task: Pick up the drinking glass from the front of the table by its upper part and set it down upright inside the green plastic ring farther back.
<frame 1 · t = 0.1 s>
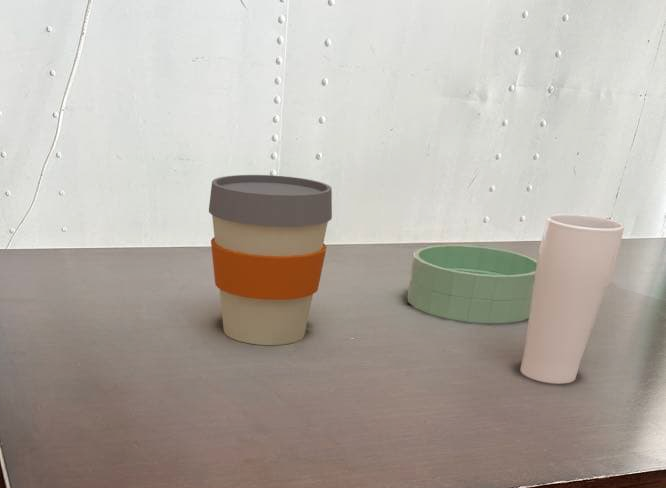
reusable coffee cup: (264, 333, 90), on the table
green plastic ring: (468, 309, 101), on the table
drinking glass: (545, 381, 81), on the table
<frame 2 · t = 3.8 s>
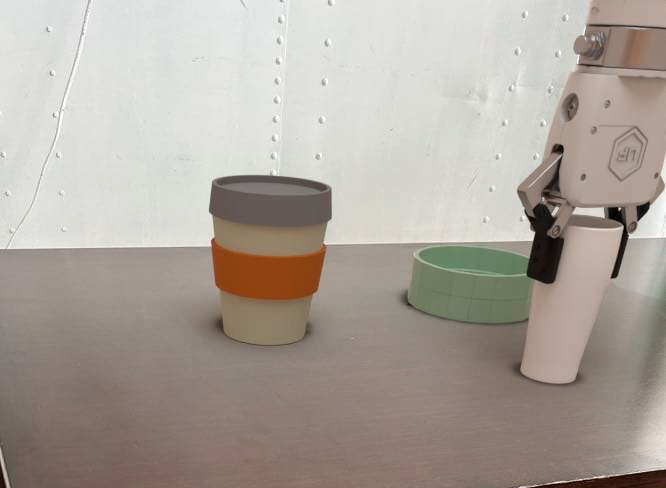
hand: (571, 276, 76), 10 cm above the table, tool pointing down, fingers closed on drinking glass, 6 cm apart
drinking glass: (545, 381, 81), on the table, touching gripper
everything else where it was.
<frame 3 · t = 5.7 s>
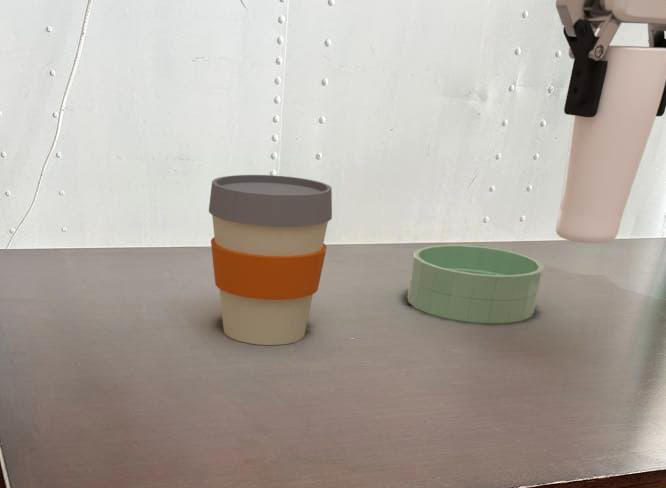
hand: (613, 113, 69), 24 cm above the table, tool pointing down, fingers closed on drinking glass, 6 cm apart
drinking glass: (584, 240, 75), point 13 cm above the table, touching gripper
everything else where it was.
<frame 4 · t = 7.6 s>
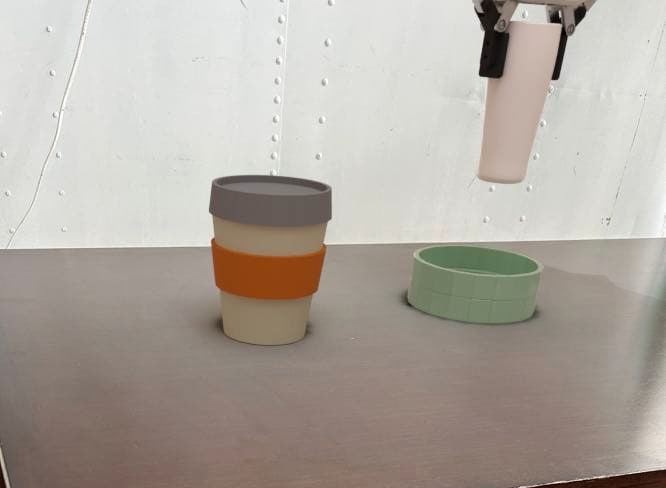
hand: (518, 76, 86), 25 cm above the table, tool pointing down, fingers closed on drinking glass, 6 cm apart
drinking glass: (499, 182, 91), point 15 cm above the table, touching gripper
everything else where it was.
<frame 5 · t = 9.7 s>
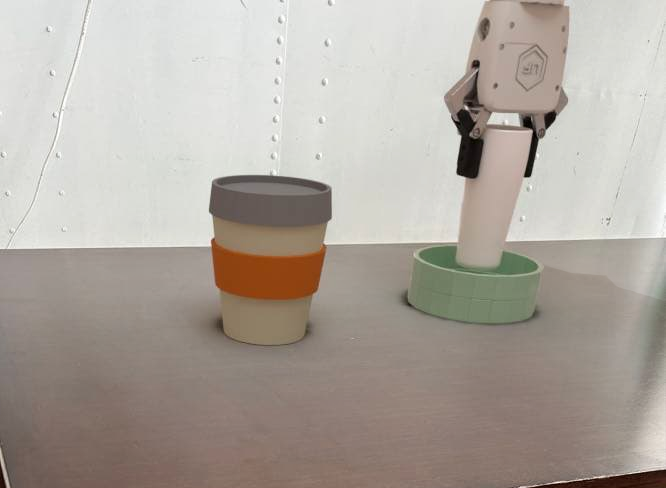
hand: (493, 174, 93), 15 cm above the table, tool pointing down, fingers closed on drinking glass, 6 cm apart
drinking glass: (476, 267, 98), point 5 cm above the table, touching gripper
everything else where it was.
when the fingers open (11 cm above the table, at t = 11.4 s): drinking glass stays where it is, resting on green plastic ring.
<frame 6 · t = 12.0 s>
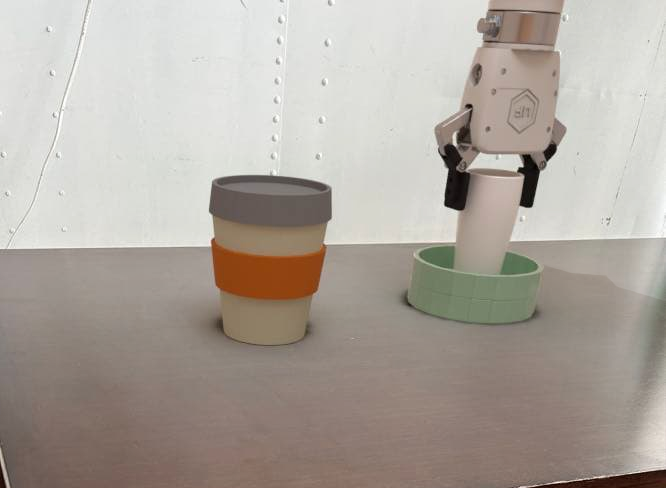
hand: (488, 207, 94), 12 cm above the table, tool pointing down, fingers open, 9 cm apart
drinking glass: (470, 306, 101), resting on green plastic ring
everything else where it was.
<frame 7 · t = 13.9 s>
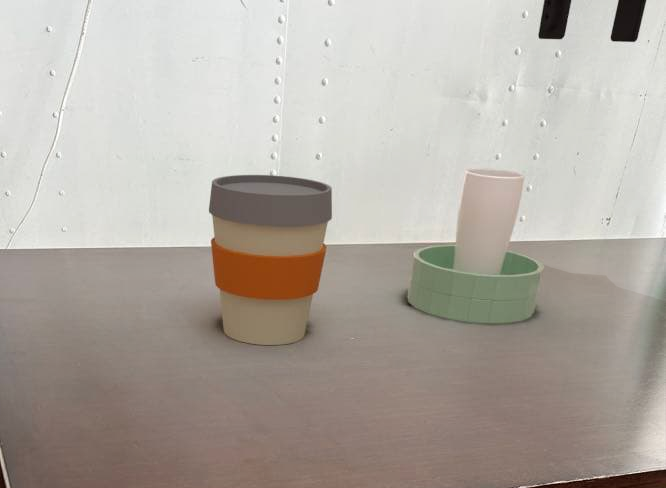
hand: (587, 40, 84), 29 cm above the table, tool pointing down, fingers open, 9 cm apart
nothing on the table moved.
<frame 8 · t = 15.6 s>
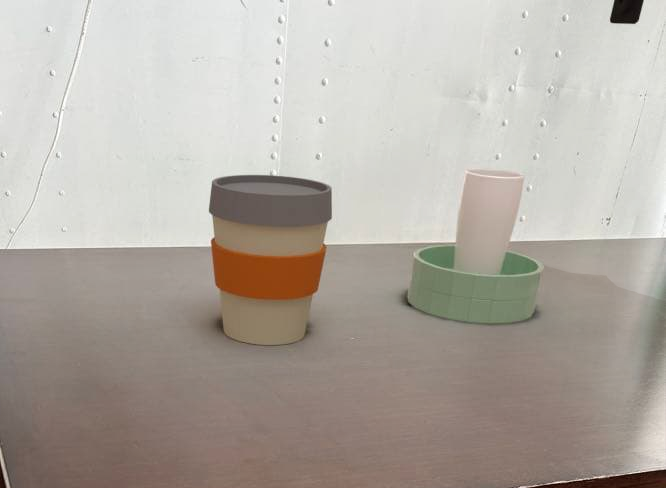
hand: (659, 26, 81), 30 cm above the table, tool pointing down, fingers open, 9 cm apart
nothing on the table moved.
at the end: drinking glass 0.1 cm off-centre in the green plastic ring, point 0.4 cm above the green plastic ring's base; drinking glass tilted 0°; the gripper is holding nothing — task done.
